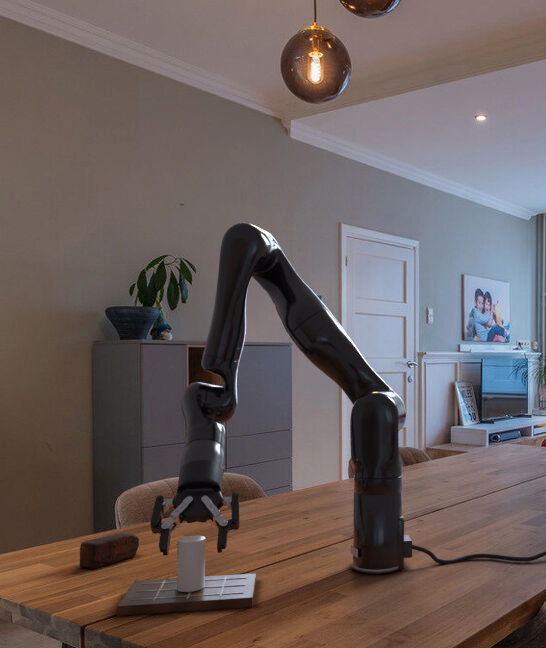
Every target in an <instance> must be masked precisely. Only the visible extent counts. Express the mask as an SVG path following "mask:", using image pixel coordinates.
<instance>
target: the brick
mask: <svg viewBox="0 0 546 648" xmlns="http://www.w3.org/2000/svg"><path fill="white" fill-rule="evenodd" d="M139 543H140V539H139V537H138V536H137V535H135V534H133V533H131V532H130V533H129V532H118V533H114V534H111V535H106V536H102V537H99V538H93V539H89V540H85V541H82V542H81V543H80V547H79V567H80V568H86V569H90V570H91V569H93V570H95V569H99V568H102V567H105V566H109V565H112V564H115V563H119V562H122V561H124V560H127V559H130V558H133V557H136V556H137V552H138V550H139V547H140V546H139V545H140V544H139Z"/></svg>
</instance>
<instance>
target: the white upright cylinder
mask: <svg viewBox="0 0 546 648" xmlns="http://www.w3.org/2000/svg"><path fill="white" fill-rule="evenodd" d="M176 544H177V545H176V546H177V547H176V548H177V549H176V551H177V552H176V559H177V560H176V578H177V590H178V591H181V592H193V591H198V590H201V589H203V588H204V587H205V576H206V555H207V554H206V546H207V538H206V536H204V535H185V536H182V537H179V538H177V543H176Z"/></svg>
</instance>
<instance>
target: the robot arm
mask: <svg viewBox="0 0 546 648" xmlns="http://www.w3.org/2000/svg"><path fill="white" fill-rule="evenodd" d="M292 265H293V264H291V262H290V260H289V259H288V258H287V256H286V255H285V253H284V251H283V250H282V248H281V246H280V244H279V242H278V241H277V240H276V238H275V237H274V236H273V235H272V233H270V232H268V231H267V230H265V229H263V228H261V227H259V226H257V225H254V224H252V223H249V222H238V223H235V224H233V225H232V226H231V225H230V227H229V228H228V229H227V230H226V231H225V232H224V234H223V236H222V239H221V243H220V250H219V261H218V273H217V275H218V276H217V283H216V291H215V297H214V298H215V299H214V306H213V311H212V316H211V322H210V326H209V330H208V334H207V337H206V342H205V345H204V349H203V353H202V357H201V363H200V366H201V368H202V369H203V370H204V371H206V372H208V373H210V374H214V375H215V376H218V377H219V378H221V380H222V386H221V385H217V384H216V385H215V384H210V383H205V382H199V381H198V382H197V381H195V382H191V383H190V384H188V385H187V386H186V387H185V388H184V390H183V392H182V393H181V399H180V406H181V412H182V415H183V420H184V424H185V425H184V426H185V432H186V433H185V442H184V449H183V453H182V456H181V460H180V467H179V472H178V473H179V474H178V481H177V488H176V494H175V495H174V497H173V498H164V496H163V495H157V496H156V497H155V502H154V506H153V510H152V514H151V519H150V522H149V524H150V528H151V533H152V534H154V535H157V534H159V541H158V548H159V552H160V553H162V556H163V557H164V556H169V552H170V544H171V538H172V536H171V534H172V533H173V532H174V531H176V530H177V529H179V528H180V527H181V526H182V525H183V524H184V523H185V522H186V524H193V523H202V524H203V523H207V521H210V522H211V523H212V525H213V526H214V527H216V528H217V529H218V531H217V542H216V544H217V545H216V551H217V554H220V553H221V554H222V553H223V550H226V549H227V546H228V536H229V535H228V534H229V532H230V531H233V530H234V531H237V530H239V529H240V495H239V493H238V492H234V493H231V496H229V495H228V496H223V494H222V491H223V482H224V481H223V480H224V472H225V441H226V429H225V426H224V425H223V424H225V423H228V422H230V421H232V419H233V418H234V417H235V415H236V413H237V411H238V387H237V385H238V384H237V382H238V381H237V379H238V369H239V364H240V360H241V356H242V353H243V349H244V346H245V345H244V344H245V341H246V340H245V339H246V333H247V315H246V314H247V312H246V311H247V295H248V290H249V286H250V282H251V279H252V278H253V279H254V280H255V281H256V282H257V283H258V284H259V286H260V287H261V288H262V289H263V290H264V291H265V293H266V294H267V295H268V296H269V298H270V299H271V302H272V303H273V305H274V307H275V310H276V313H277V316H278V318H279V320H280V323H281V324H282V326H283V328H284V330H285V332H286V333H287V335H288V337H289V338H290V339H291V341H292V342H293V343H294V344H295V346H296V347H297V348H298V349H299V351H300V352H301V353H302V354H303V356H304V357H305V358H306V359H307V361H309V362H310V363H311V364H312V365H313V366H314V367H316V368H317V369H318V370H320V372H322V373H323V374H324V375H326V377H328V378H329V379H331V380H332V381H333V382H334V383H335V384H336V385H337V386H338V387H339V388H340V389H341V390H342V391H343V392H344V394H345V395H346V397H347V399H349V401H350V402H351V404H352V408H351V412H350V421H349V432H350V433H349V435H350V436H349V437H350V440H349V441H350V460H351V463H352V466H353V511H352V513H353V515H352V520H353V523H352V524H353V525H352V527H353V528H352V544H350V554H351V555H352V564H351V565H352V567H351V568H352V569H353V570H354V571H356V572H359V573H363V574H372V575H373V574H374V575H378V574H389V573H394V572H396V571H403V570H404V569H405V559H409V558H411V559H412V558H413V550H415V551H418V552H421V553H424V554H426V555H427V556H429V557H430V558H431V559H432V560H433V561H434V563H437V564H441V565H448V564H455V563H460V562H465V561H468V560H473V559H494V560H502V561H503V560H504V561H510V562H532V561H535V560H538V559H540V558H544V557H546V550H544V551H541V552H539V553H536V554H534V555H531V556H511V555H504V554H495V553H471V554H467V555H464V556H460V557H457V558H453V559H441V558H439V557H437V556H436V555H435V554H434V553H433V552H432V550H429V549H427V548H425V547H422V546H419V545H415V544H413V540H412V539H411V537H410V535H409V534H405V518H404V516H403V474H404V473H403V470H404V465H403V460H402V459H401V456H400V448H399V447H400V445H399V444H400V442H399V441H400V440H399V439H400V438H399V433H400V431H401V430H402V429H403V427H404V426H405V424H406V421H407V409H406V405H405V402H404V401H403V400H402V398H401V397H400V396H399V395H398V393H396V392H395V391H394V390H393V388H391V386H390V385H388V384H387V383H386V382H385V380H383V379H382V377H381V376H380V375H379V374H378V373H377V372H376V371H375V370H374V368H372V366H371V365H370V364H369V363H368V362H367V360H366V359H365V357H364V356H363V355H362V353H361V352H360V350H359V349H358V347H357V346H356V344H355V343H354V341H353V340H352V339H351V337H350V336H349V334H347V332H346V330H345V329H344V327H343V326H342V325H341V324H340V322H339V320H337V318H336V317H335V316H334V315H333V314H332V312H331V310H329V308H328V307H327V306H326V304H325V303H324V302H323V301H322V300H321V299H320V298H319V296H318V295H317V294H316V293H315V292H314V291H313V290H312V288H310V286H308V284H306V282H305V281H304V280H303V279H302V278H301V277H300V275H299V274H298V273H297V272H296V269H295V268H294V267H293V266H292ZM224 505H225V506H226V507H227V509H228V510H230V511H231V518H230V519H227V518H225V516H223V514H222V512H221V509H222V507H223V506H224ZM171 507H172V508H173V511H172V512H171V513H170V515H169V517H167V518H166V520H165V521H163V517H164V513H165V514H166V513H167V512H168V511H169V509H170V508H171ZM162 521H163V522H162Z"/></svg>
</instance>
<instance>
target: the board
mask: <svg viewBox="0 0 546 648" xmlns="http://www.w3.org/2000/svg"><path fill="white" fill-rule="evenodd" d="M256 584H257V573H243V574H241V573H239V574H226V575H225V574H224V575H207V576H206V575H205V587H204V588H203V589H201V590H198V591H193V592H181V591H178V590H177V577H173V578H172V577H171V578H156V579H154V578H153V579H137V580H134V582H133V583H132V584H131V586H130V587H129V588H128V590H127V592H125V594H124V596H123V598H121V600H120V602H119V603H118V605H117V606H116V616H117V617H123V616H137V615H139V616H140V615H153V614H154V615H155V614H167V613H181V612H182V613H184V612H197V611H211V610H223V609H224V610H227V609H241V608H243V609H244V608H253V606H254V605H253V604H254V598H255V591H256Z"/></svg>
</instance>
